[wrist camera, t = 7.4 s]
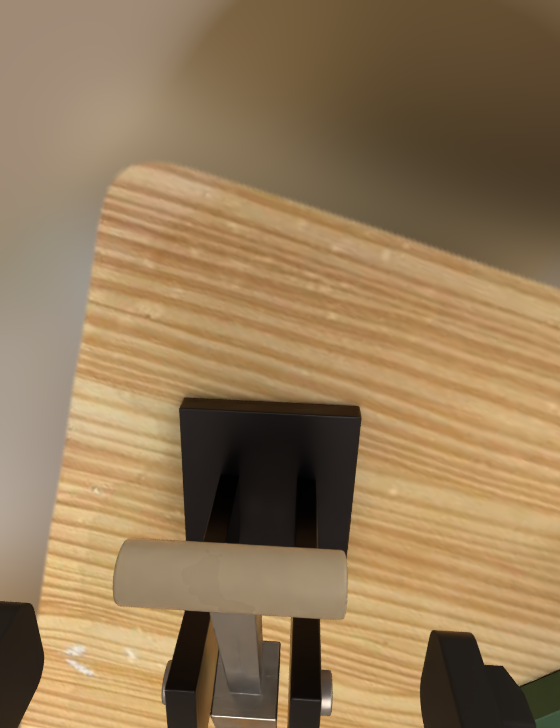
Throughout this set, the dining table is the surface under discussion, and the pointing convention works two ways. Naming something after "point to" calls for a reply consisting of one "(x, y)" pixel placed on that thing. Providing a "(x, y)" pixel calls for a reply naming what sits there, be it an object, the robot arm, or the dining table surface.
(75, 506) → the dining table surface
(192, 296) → the dining table surface
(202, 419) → the bracket
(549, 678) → the button box
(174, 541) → the lever
